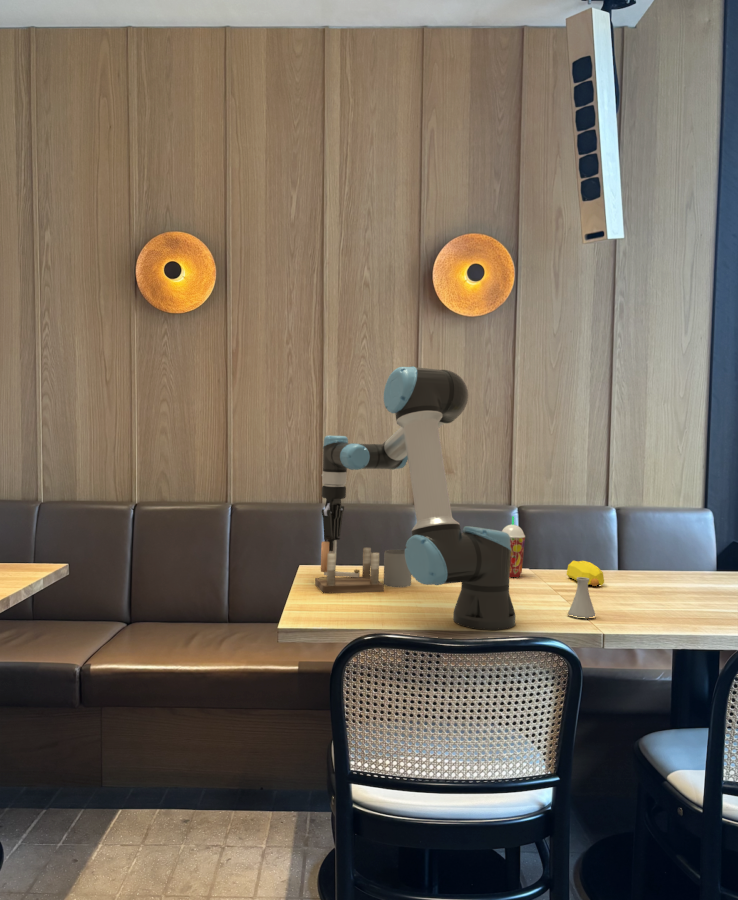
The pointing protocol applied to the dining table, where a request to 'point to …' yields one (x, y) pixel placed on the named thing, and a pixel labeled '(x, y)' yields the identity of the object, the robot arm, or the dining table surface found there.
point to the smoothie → (515, 548)
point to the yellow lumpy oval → (585, 572)
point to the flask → (582, 600)
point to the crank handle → (324, 562)
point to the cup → (396, 569)
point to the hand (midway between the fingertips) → (331, 560)
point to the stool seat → (352, 583)
